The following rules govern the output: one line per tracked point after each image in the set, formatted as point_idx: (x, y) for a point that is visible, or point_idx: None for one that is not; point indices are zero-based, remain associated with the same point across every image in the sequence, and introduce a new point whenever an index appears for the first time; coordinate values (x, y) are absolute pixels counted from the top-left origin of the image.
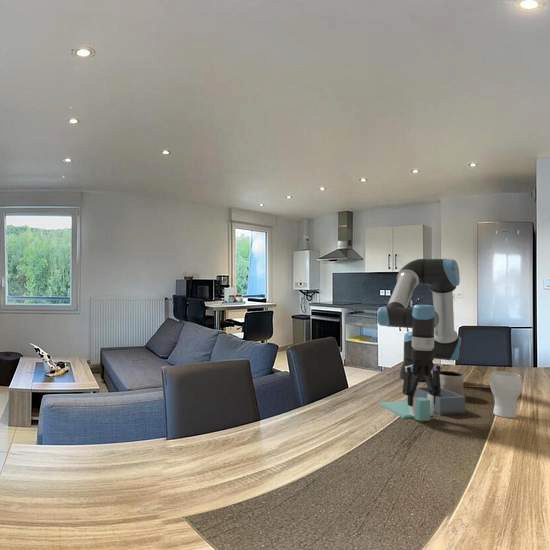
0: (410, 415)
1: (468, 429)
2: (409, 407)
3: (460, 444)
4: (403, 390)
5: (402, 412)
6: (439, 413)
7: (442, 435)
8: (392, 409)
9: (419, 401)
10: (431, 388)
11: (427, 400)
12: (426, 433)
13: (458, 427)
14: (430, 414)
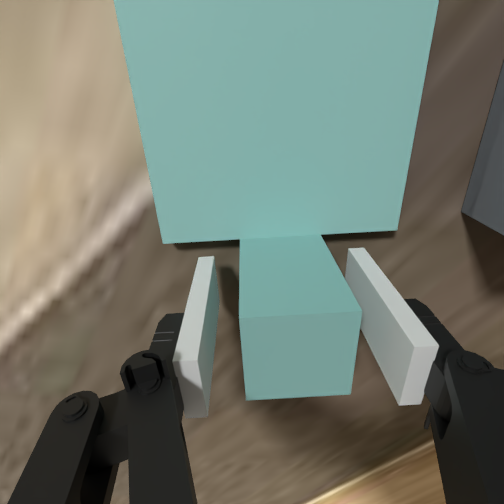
0: (218, 239)
1: (398, 405)
2: (192, 286)
3: (247, 489)
4: (44, 450)
5: (185, 176)
6: (467, 212)
7: (237, 438)
8: (129, 71)
9: (245, 384)
10: (445, 491)
11: (321, 395)
12: (182, 419)
13: (377, 384)
14: (382, 228)
